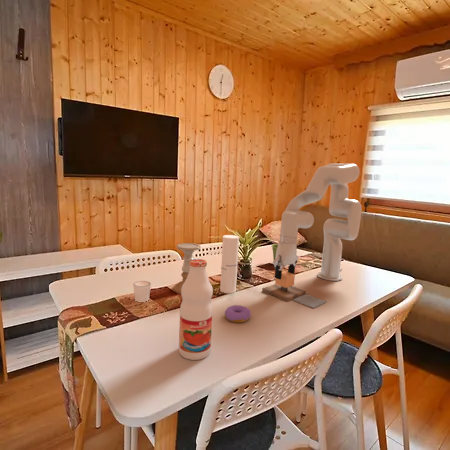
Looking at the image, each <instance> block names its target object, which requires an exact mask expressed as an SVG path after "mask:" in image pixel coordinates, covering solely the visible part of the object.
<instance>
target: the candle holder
mask: <svg viewBox="0 0 450 450" xmlns="http://www.w3.org/2000/svg"><path fill="white" fill-rule="evenodd" d="M176 249H178V250H180V251H182V252H183V254H184V256H183V257H182V260H183V264H182V266H181V271H182V273H181V275H180V276H181V277H182V279H181V281H179V282H177V283H175V284H174V285H173V290H174V292H176V293H177V294H178V293H179V294H181V288H182V285H183V284H184V282H185V281H186V279H187V276H188V274H189V271H190V265H189V262H190V260H192V259H195V258H194V256H193V254H194V252H195V251H199V250H200V249H201V245H200V244H197V243H191V242H184V243H178V244H177V245H176Z"/></svg>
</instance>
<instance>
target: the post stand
mask: <svg viewBox="0 0 450 450" xmlns="http://www.w3.org/2000/svg"><path fill="white" fill-rule="evenodd" d="M261 290H262V293H265V294H268V295H270V296H272V297H275V298H278V299H280V300H283V301H285V302H290V301H293V299H295V298H298V297H300V296H303V295H305V294H307V290H304V289H302V288H300V287H296V286H294V285H293V286H290V287H287V288H285V287H282V286H280V285H277V284H275V283H274V284H272V285H268V286H264V287H262V288H261Z"/></svg>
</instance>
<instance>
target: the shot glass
mask: <svg viewBox="0 0 450 450" xmlns="http://www.w3.org/2000/svg"><path fill="white" fill-rule="evenodd" d="M132 285H133V286H132V287H133V293H134V302H136V301H138V302H144V303H146V302H145V301H147V302H149V301H150V295H151V294H150V293H151V285H152V283H151V282H150V281H146V280H139V281H136V282H134V283H133V284H132ZM148 300H149V301H148ZM138 302H137V303H138Z"/></svg>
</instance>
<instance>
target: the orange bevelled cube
mask: <svg viewBox="0 0 450 450" xmlns="http://www.w3.org/2000/svg"><path fill="white" fill-rule="evenodd" d="M281 271H282V276H281V279H277V278H275V281H274V282H275V283H274V284H277V285H280V286H282V287H285V288H287V287H290V286H293V287H294V286H295V280H296V279H295V277H296V275H295V274H296V273H294V274H292V273H289V272H288V271H285V270H281Z"/></svg>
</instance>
